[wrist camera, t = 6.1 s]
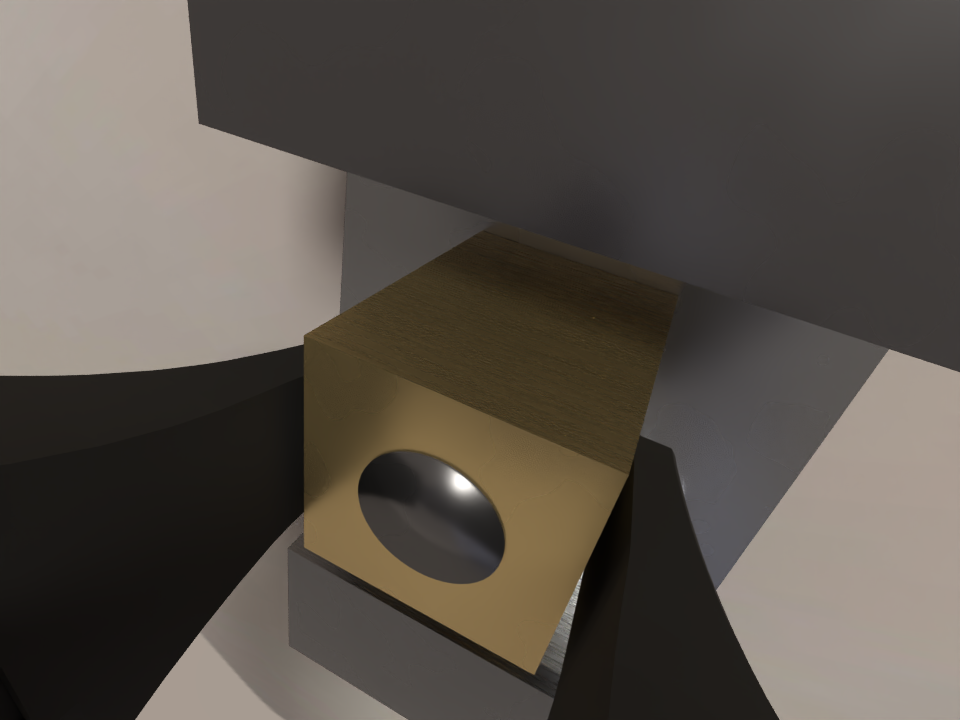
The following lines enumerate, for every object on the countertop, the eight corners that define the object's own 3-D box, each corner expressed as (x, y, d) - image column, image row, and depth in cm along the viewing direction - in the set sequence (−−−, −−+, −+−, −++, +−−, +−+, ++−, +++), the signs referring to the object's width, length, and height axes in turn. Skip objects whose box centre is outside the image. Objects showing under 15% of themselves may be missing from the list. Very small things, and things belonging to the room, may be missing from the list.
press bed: (636, 679, 18) (598, 903, 13) (344, 523, 21) (223, 657, 16) (1137, -52, 7) (1987, -348, 2) (394, -152, 10) (81, -370, 5)
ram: (584, 623, 16) (534, 798, 12) (388, 521, 18) (288, 645, 14) (629, 538, 14) (586, 717, 10) (400, 431, 15) (287, 548, 12)
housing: (609, 455, 13) (533, 677, 8) (451, 388, 14) (302, 548, 9) (678, 295, 11) (627, 477, 6) (481, 230, 12) (300, 337, 7)
